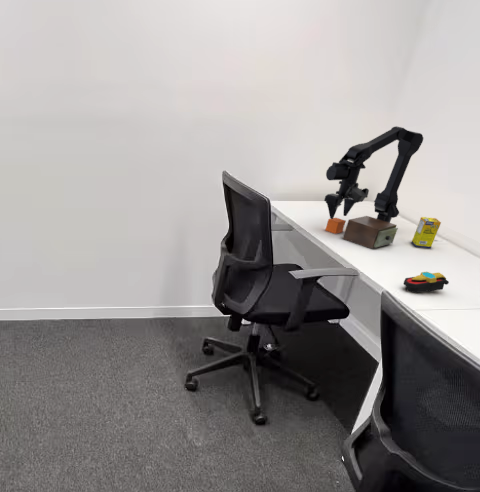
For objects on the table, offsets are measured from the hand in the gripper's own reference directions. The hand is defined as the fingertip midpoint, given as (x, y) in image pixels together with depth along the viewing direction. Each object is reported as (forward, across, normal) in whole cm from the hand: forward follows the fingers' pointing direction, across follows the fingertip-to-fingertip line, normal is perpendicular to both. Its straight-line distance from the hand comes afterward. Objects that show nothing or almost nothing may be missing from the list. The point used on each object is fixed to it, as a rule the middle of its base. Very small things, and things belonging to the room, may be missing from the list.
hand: (338, 217), depth 234 cm
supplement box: (+6, +18, -29) cm, 35 cm away
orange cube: (+6, 0, 0) cm, 6 cm away
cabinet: (+6, +1, -15) cm, 16 cm away
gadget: (+6, -28, -55) cm, 62 cm away
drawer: (+5, +1, -17) cm, 18 cm away
